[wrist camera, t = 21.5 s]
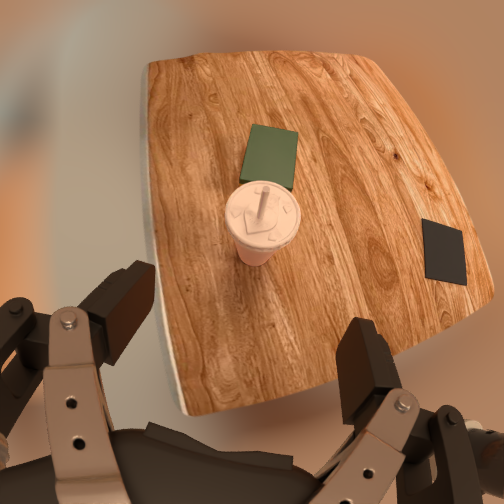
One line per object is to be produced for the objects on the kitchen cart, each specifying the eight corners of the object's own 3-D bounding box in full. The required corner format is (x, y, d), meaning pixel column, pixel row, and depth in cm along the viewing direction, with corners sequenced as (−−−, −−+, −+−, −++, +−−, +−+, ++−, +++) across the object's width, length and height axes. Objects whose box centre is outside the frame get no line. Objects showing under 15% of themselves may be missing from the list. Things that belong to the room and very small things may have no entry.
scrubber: (286, 205, 34) (292, 188, 31) (238, 196, 34) (239, 178, 31) (292, 150, 37) (298, 132, 34) (250, 143, 37) (252, 123, 34)
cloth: (466, 285, 33) (467, 285, 33) (425, 277, 33) (426, 277, 33) (461, 231, 36) (461, 230, 36) (421, 218, 36) (422, 218, 36)
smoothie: (214, 257, 32) (204, 192, 18) (246, 215, 34) (257, 135, 20) (262, 289, 31) (286, 244, 18) (292, 244, 33) (330, 177, 20)
